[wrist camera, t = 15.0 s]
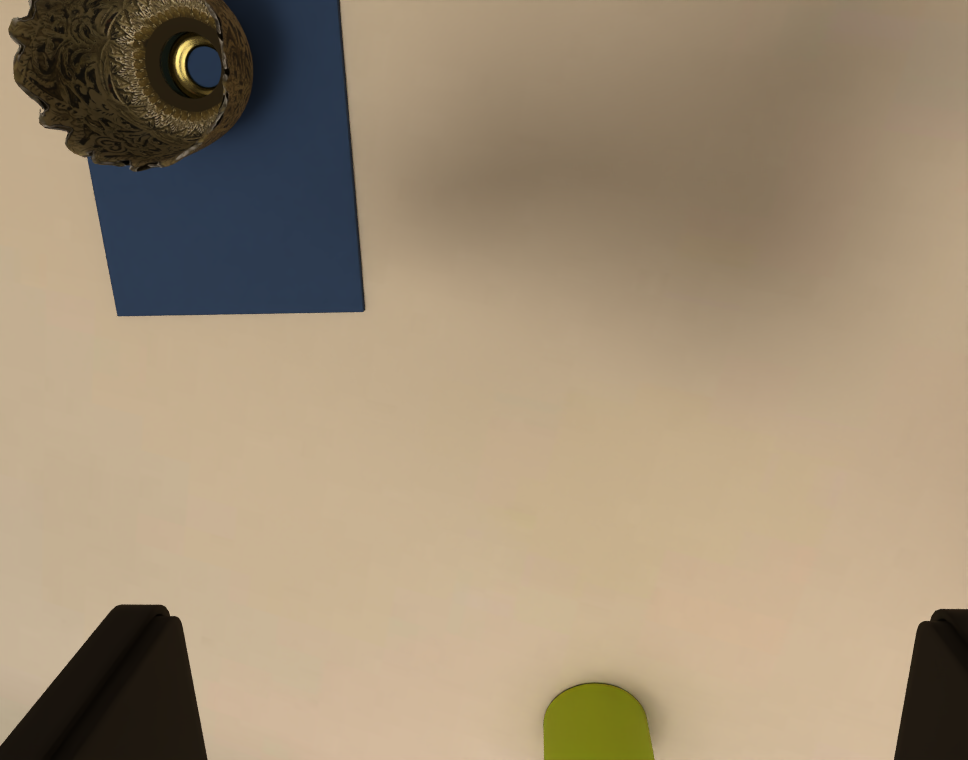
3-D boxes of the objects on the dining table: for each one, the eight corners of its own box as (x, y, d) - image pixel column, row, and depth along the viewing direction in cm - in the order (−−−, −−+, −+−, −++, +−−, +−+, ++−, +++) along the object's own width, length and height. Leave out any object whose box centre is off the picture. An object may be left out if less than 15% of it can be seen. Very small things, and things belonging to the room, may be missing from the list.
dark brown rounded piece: (244, 189, 36) (168, 213, 28) (95, 97, 35) (-24, 96, 27) (321, 36, 34) (261, 18, 26) (164, -67, 33) (55, -116, 25)
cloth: (318, -246, 31) (316, -250, 30) (365, 310, 38) (363, 312, 38) (19, -227, 31) (13, -231, 31) (121, 314, 39) (117, 316, 38)
